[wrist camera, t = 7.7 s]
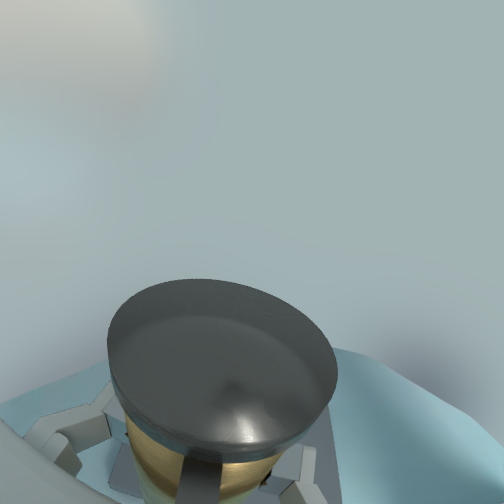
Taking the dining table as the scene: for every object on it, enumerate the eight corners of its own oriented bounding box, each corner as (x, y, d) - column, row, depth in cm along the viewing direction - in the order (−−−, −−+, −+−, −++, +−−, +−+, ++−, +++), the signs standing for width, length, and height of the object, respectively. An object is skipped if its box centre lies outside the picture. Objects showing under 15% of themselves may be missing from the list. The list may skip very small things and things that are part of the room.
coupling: (154, 430, 15) (162, 249, 10) (243, 449, 15) (314, 284, 10) (124, 537, 8) (39, 436, 3) (235, 559, 8) (368, 499, 3)
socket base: (321, 401, 32) (336, 377, 30) (336, 519, 17) (360, 505, 15) (155, 369, 31) (156, 341, 29) (110, 487, 16) (101, 470, 15)
